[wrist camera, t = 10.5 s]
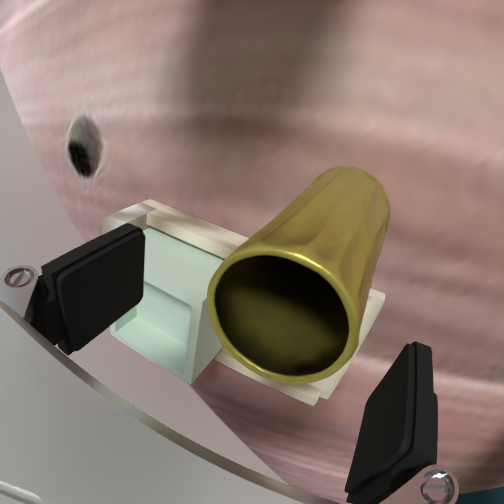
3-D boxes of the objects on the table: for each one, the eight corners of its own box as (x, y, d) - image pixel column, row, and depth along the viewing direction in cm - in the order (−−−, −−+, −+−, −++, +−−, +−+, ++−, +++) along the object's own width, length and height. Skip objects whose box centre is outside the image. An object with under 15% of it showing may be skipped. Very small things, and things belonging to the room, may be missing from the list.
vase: (326, 260, 24) (244, 399, 12) (291, 186, 23) (164, 266, 11) (402, 234, 21) (396, 380, 9) (368, 152, 20) (325, 197, 8)
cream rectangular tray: (385, 294, 23) (378, 341, 18) (330, 391, 29) (312, 438, 24) (149, 199, 29) (102, 217, 24) (144, 299, 35) (107, 327, 30)
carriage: (243, 264, 25) (202, 301, 20) (225, 344, 30) (191, 384, 25) (154, 225, 28) (105, 249, 23) (150, 303, 32) (110, 334, 27)
